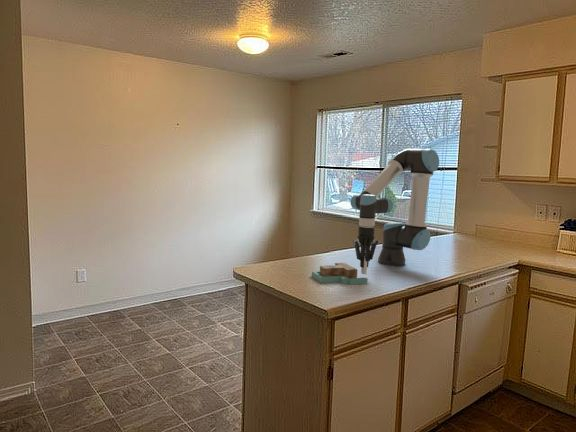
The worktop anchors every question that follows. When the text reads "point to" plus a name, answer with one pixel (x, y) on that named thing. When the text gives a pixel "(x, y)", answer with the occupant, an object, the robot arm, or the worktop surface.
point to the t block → (338, 270)
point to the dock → (338, 279)
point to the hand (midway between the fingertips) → (363, 273)
